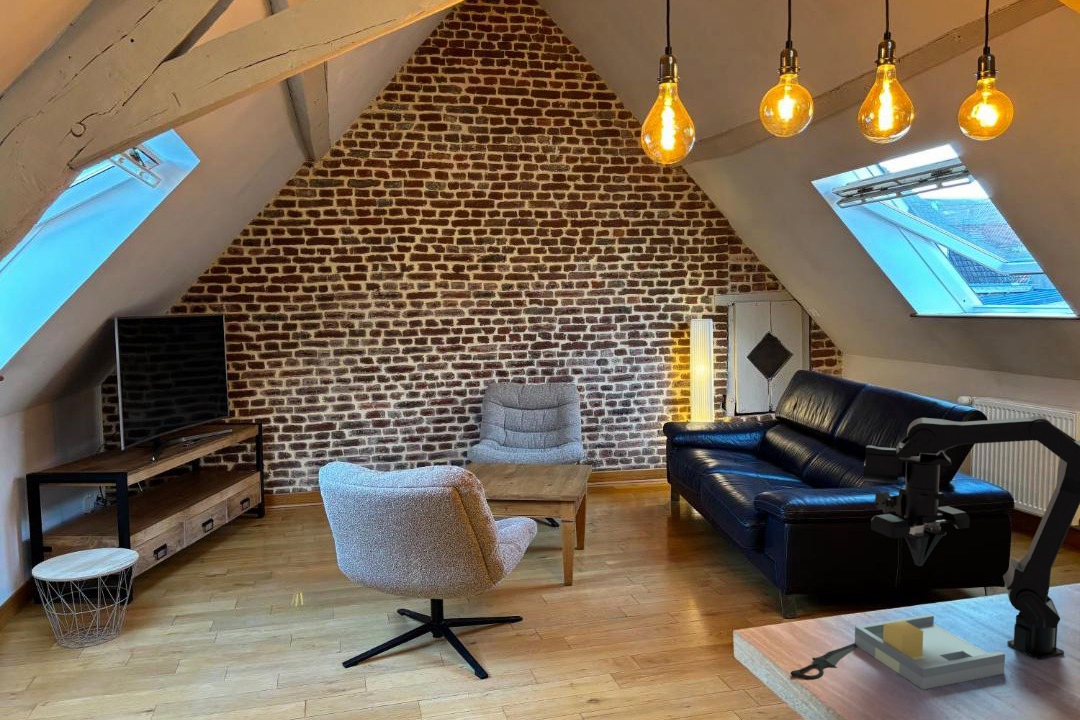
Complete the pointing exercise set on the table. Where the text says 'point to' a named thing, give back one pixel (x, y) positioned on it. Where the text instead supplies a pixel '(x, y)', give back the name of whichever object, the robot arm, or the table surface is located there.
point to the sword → (825, 661)
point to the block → (904, 637)
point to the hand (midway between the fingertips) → (918, 565)
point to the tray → (931, 654)
